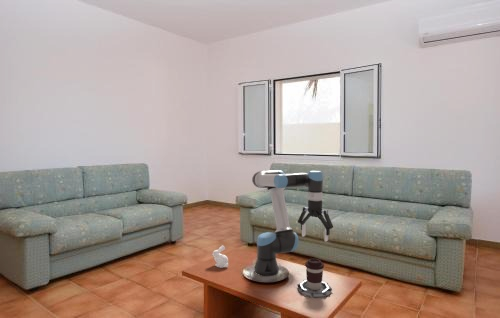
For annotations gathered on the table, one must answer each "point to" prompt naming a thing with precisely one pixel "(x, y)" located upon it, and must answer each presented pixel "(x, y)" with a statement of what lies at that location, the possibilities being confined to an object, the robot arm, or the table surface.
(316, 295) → the grey flat octagonal tray
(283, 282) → the table surface
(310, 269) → the coffee cup
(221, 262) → the rabbit
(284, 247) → the robot arm
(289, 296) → the table surface
